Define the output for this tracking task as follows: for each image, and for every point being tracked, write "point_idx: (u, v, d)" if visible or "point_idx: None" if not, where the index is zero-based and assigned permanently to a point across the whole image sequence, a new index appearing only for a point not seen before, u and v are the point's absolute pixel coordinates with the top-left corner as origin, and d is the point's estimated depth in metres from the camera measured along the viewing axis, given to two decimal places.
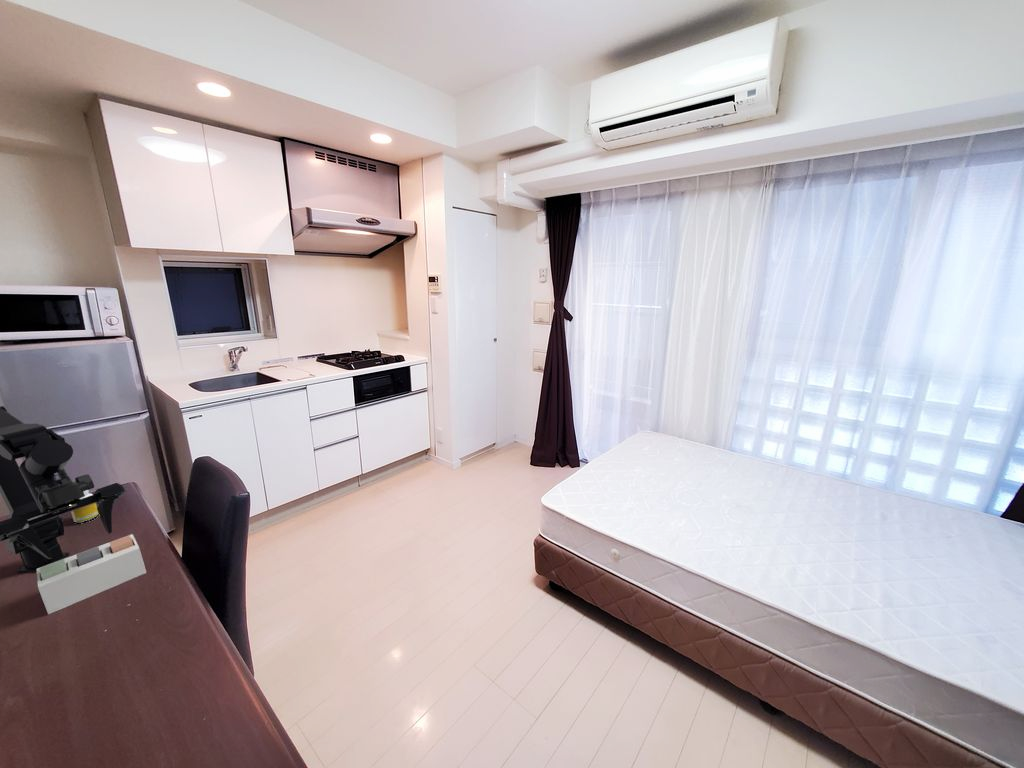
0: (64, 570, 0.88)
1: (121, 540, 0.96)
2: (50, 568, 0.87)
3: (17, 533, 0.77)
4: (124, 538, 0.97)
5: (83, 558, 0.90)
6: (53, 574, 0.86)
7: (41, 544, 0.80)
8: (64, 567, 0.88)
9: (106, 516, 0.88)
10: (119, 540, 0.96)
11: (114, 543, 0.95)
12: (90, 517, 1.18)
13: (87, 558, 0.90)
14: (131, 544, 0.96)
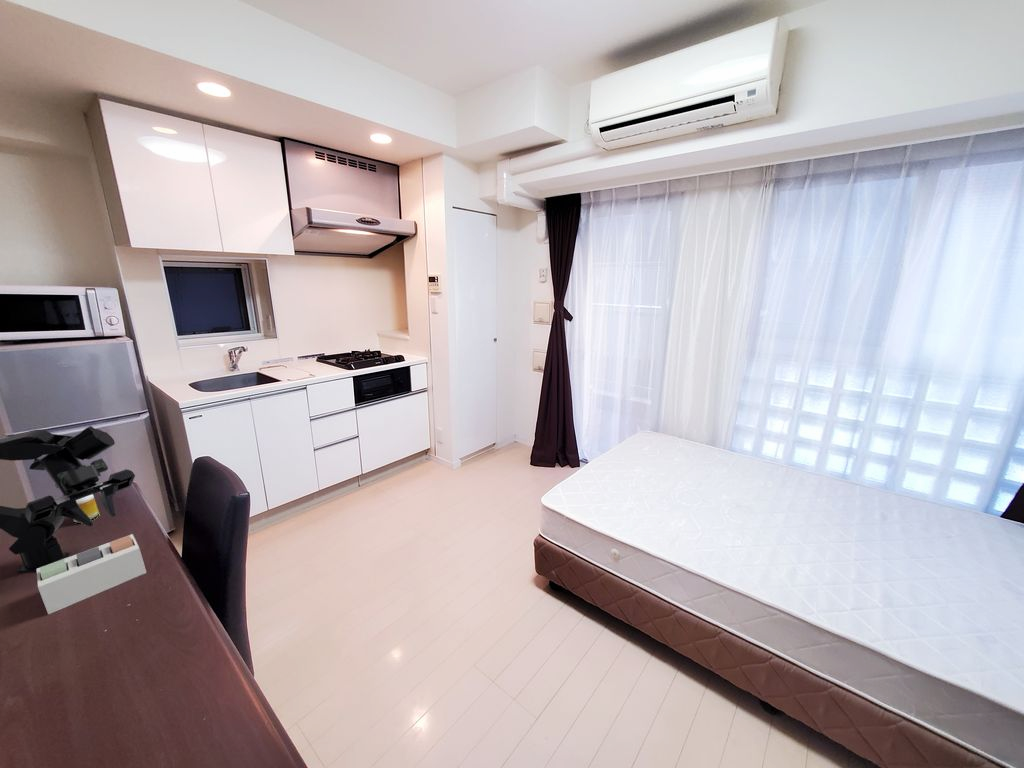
0: (64, 570, 0.88)
1: (121, 540, 0.96)
2: (50, 568, 0.87)
3: (62, 503, 0.92)
4: (124, 538, 0.97)
5: (83, 558, 0.90)
6: (53, 574, 0.86)
7: (83, 513, 0.95)
8: (64, 567, 0.88)
9: (108, 501, 0.99)
10: (119, 540, 0.96)
11: (114, 543, 0.95)
12: (90, 517, 1.18)
13: (87, 558, 0.90)
14: (131, 544, 0.96)
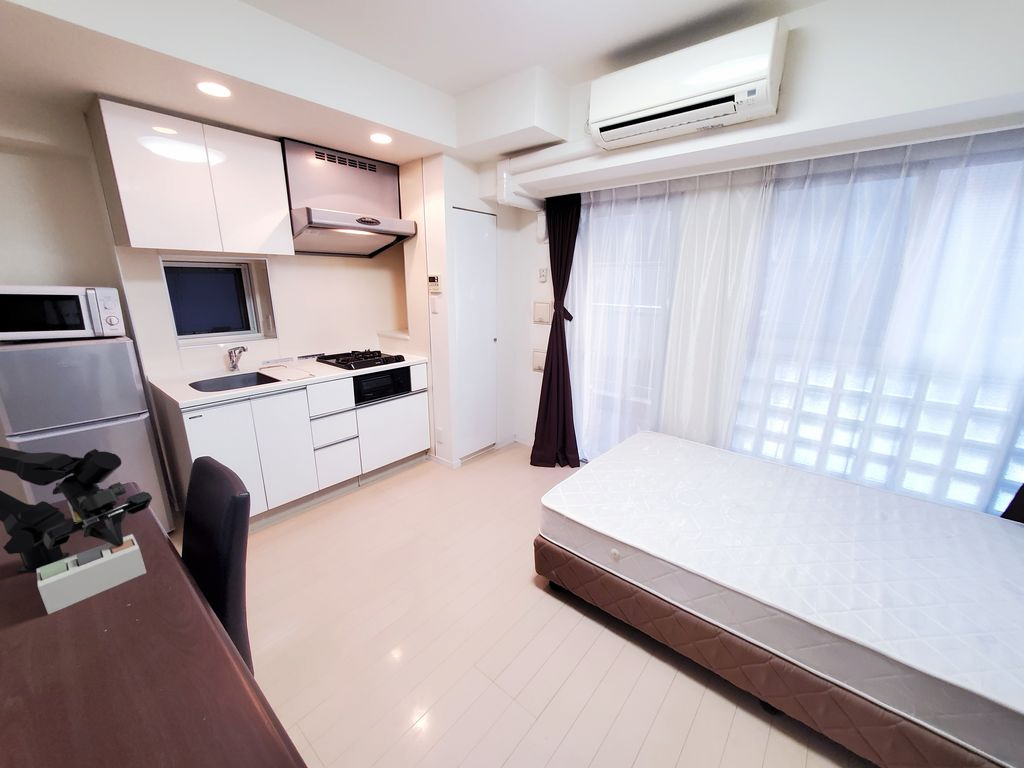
0: (64, 570, 0.88)
1: None
2: (50, 568, 0.87)
3: (92, 525, 0.93)
4: (125, 542, 0.97)
5: (83, 558, 0.90)
6: (53, 574, 0.86)
7: (111, 534, 0.95)
8: (64, 567, 0.88)
9: (116, 530, 0.96)
10: None
11: (116, 548, 0.95)
12: None
13: (87, 558, 0.90)
14: None
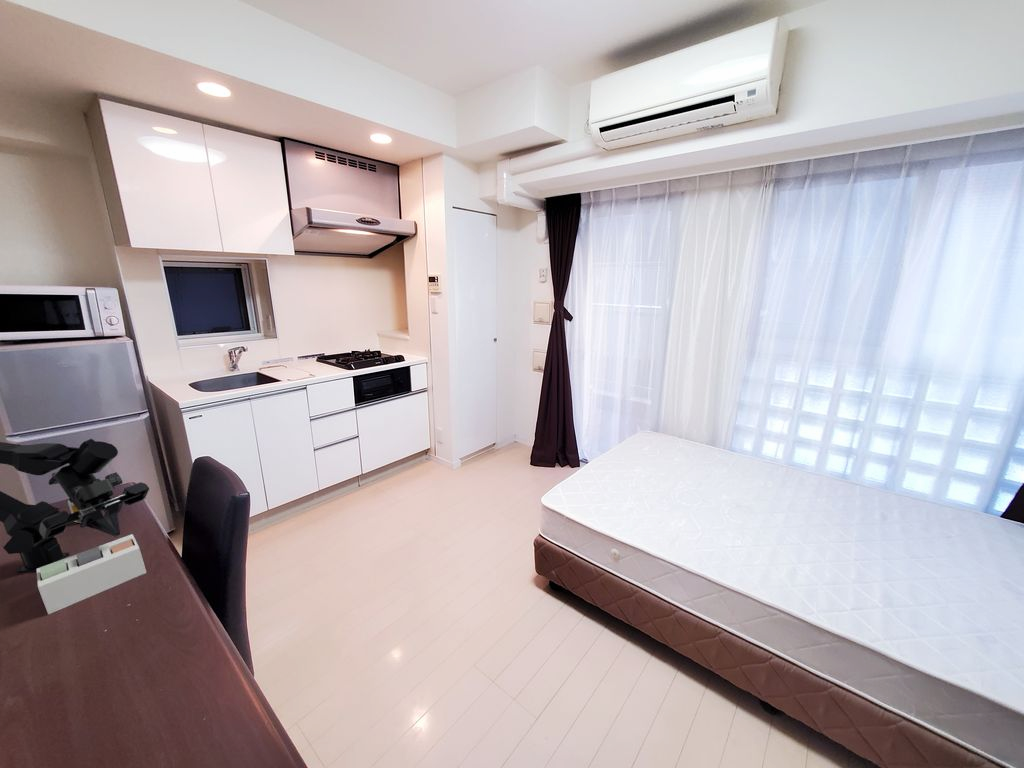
0: (64, 570, 0.88)
1: (122, 545, 0.97)
2: (50, 568, 0.87)
3: (88, 515, 0.92)
4: (125, 543, 0.97)
5: (83, 558, 0.90)
6: (53, 574, 0.86)
7: (108, 524, 0.94)
8: (64, 567, 0.88)
9: (113, 520, 0.95)
10: (120, 544, 0.97)
11: (116, 548, 0.95)
12: None
13: (87, 558, 0.90)
14: None
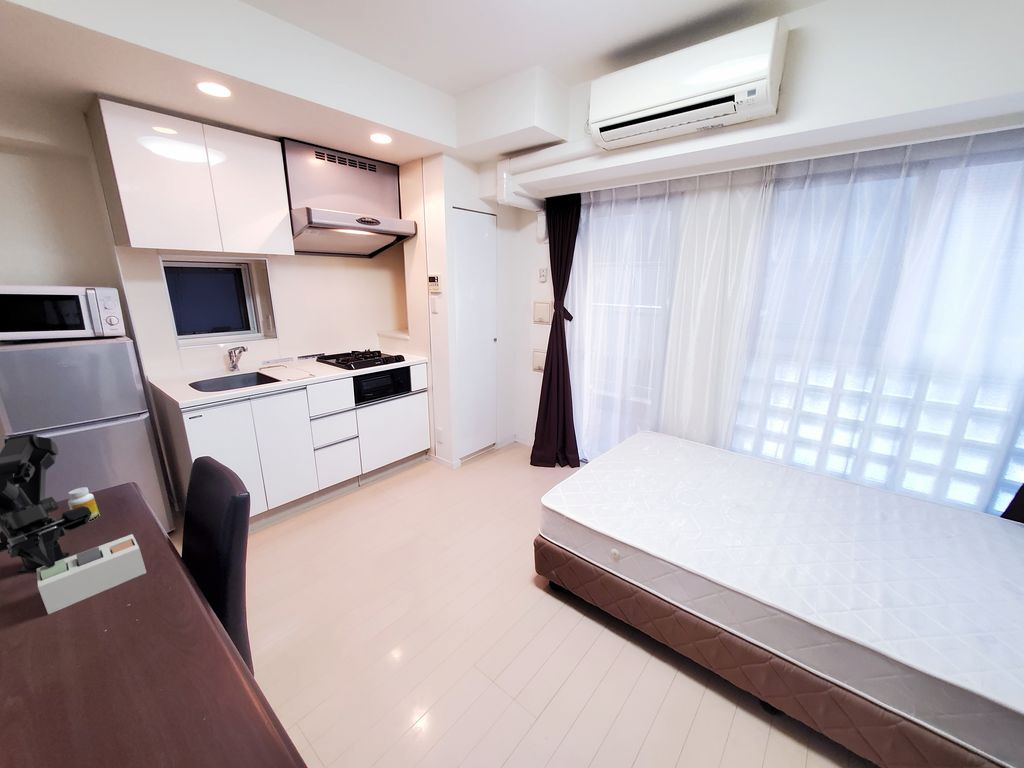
0: (64, 570, 0.88)
1: (122, 545, 0.97)
2: (50, 568, 0.87)
3: (18, 544, 0.84)
4: (125, 543, 0.97)
5: (83, 558, 0.90)
6: (53, 574, 0.86)
7: (41, 554, 0.87)
8: (64, 567, 0.88)
9: (47, 549, 0.88)
10: (120, 544, 0.97)
11: (116, 548, 0.95)
12: (90, 517, 1.18)
13: (87, 558, 0.90)
14: None
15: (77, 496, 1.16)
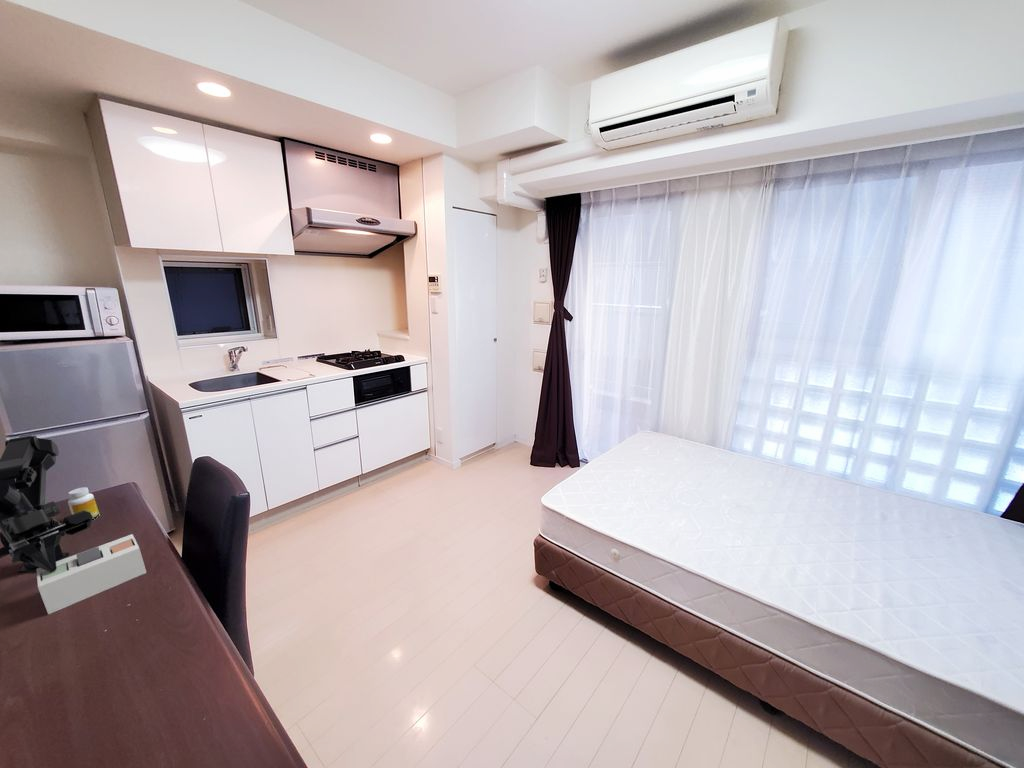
0: None
1: (122, 545, 0.97)
2: (52, 573, 0.87)
3: (19, 549, 0.85)
4: (125, 543, 0.97)
5: (83, 558, 0.90)
6: None
7: (43, 558, 0.87)
8: None
9: (49, 554, 0.88)
10: (120, 544, 0.97)
11: (116, 548, 0.95)
12: None
13: (87, 558, 0.90)
14: None
15: (77, 496, 1.16)
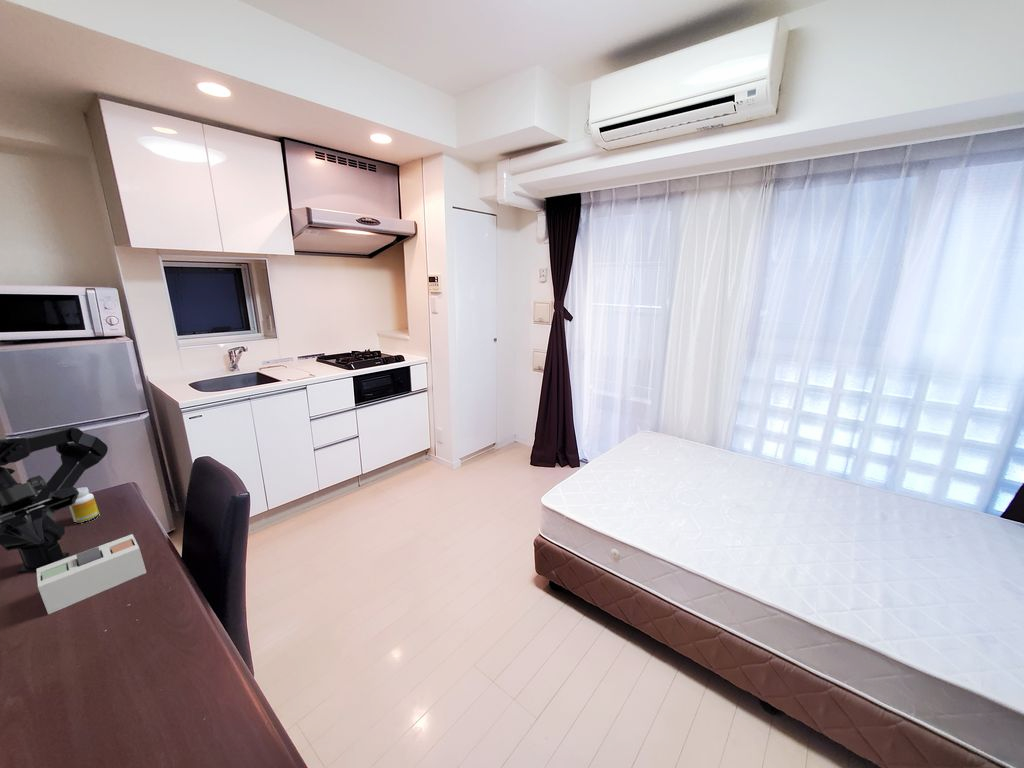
0: None
1: (122, 545, 0.97)
2: (52, 573, 0.87)
3: (7, 521, 0.86)
4: (125, 543, 0.97)
5: (83, 558, 0.90)
6: None
7: (30, 531, 0.88)
8: None
9: (36, 526, 0.89)
10: (120, 544, 0.97)
11: (116, 548, 0.95)
12: (90, 517, 1.18)
13: (87, 558, 0.90)
14: None
15: (77, 496, 1.16)
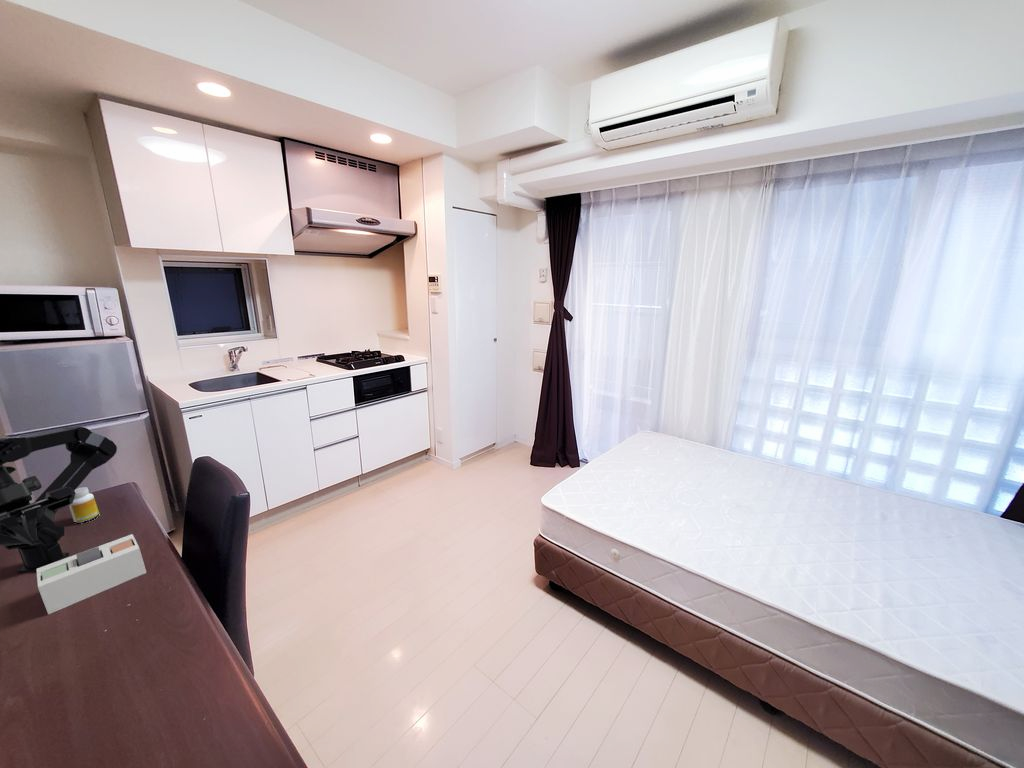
0: None
1: (122, 545, 0.97)
2: (52, 573, 0.87)
3: (0, 521, 0.85)
4: (125, 543, 0.97)
5: (83, 558, 0.90)
6: None
7: (24, 532, 0.88)
8: None
9: (30, 527, 0.89)
10: (120, 544, 0.97)
11: (116, 548, 0.95)
12: (90, 517, 1.18)
13: (87, 558, 0.90)
14: None
15: (77, 496, 1.16)
